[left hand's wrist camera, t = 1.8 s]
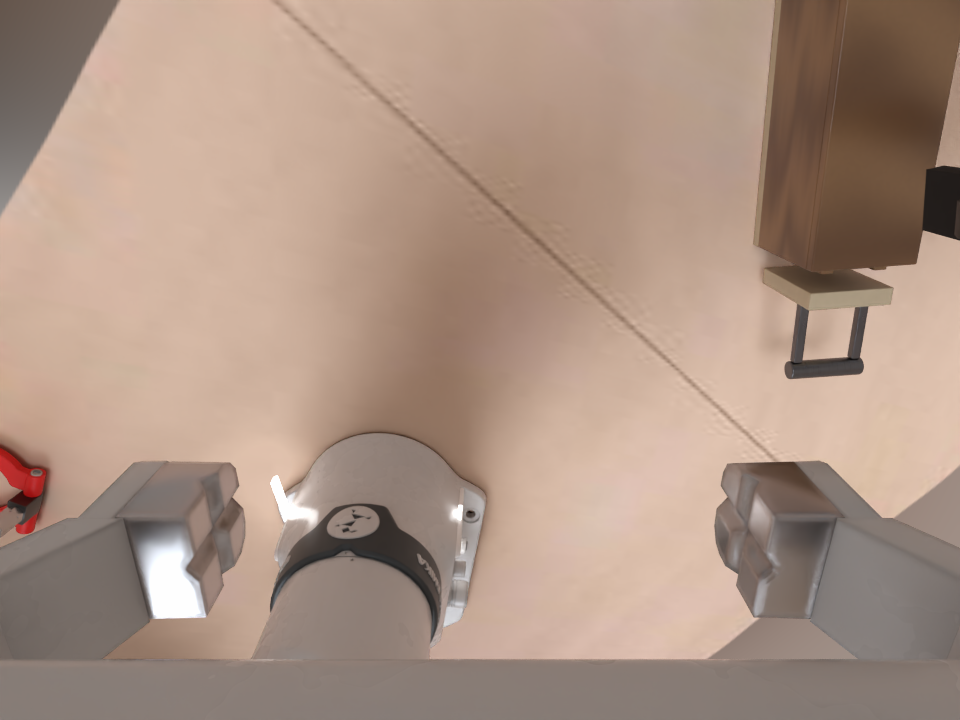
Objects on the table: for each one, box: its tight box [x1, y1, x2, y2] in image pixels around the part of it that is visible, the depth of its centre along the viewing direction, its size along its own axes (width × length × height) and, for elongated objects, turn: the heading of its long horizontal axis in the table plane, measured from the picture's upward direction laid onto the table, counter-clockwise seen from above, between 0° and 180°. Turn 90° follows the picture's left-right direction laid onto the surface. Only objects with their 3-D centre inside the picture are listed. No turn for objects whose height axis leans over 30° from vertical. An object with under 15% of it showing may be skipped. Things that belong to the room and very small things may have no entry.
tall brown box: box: [753, 0, 960, 272], centre depth 40 cm, size 18×7×9 cm, turn 4°
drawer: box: [763, 266, 893, 379], centre depth 42 cm, size 22×5×7 cm, turn 4°
